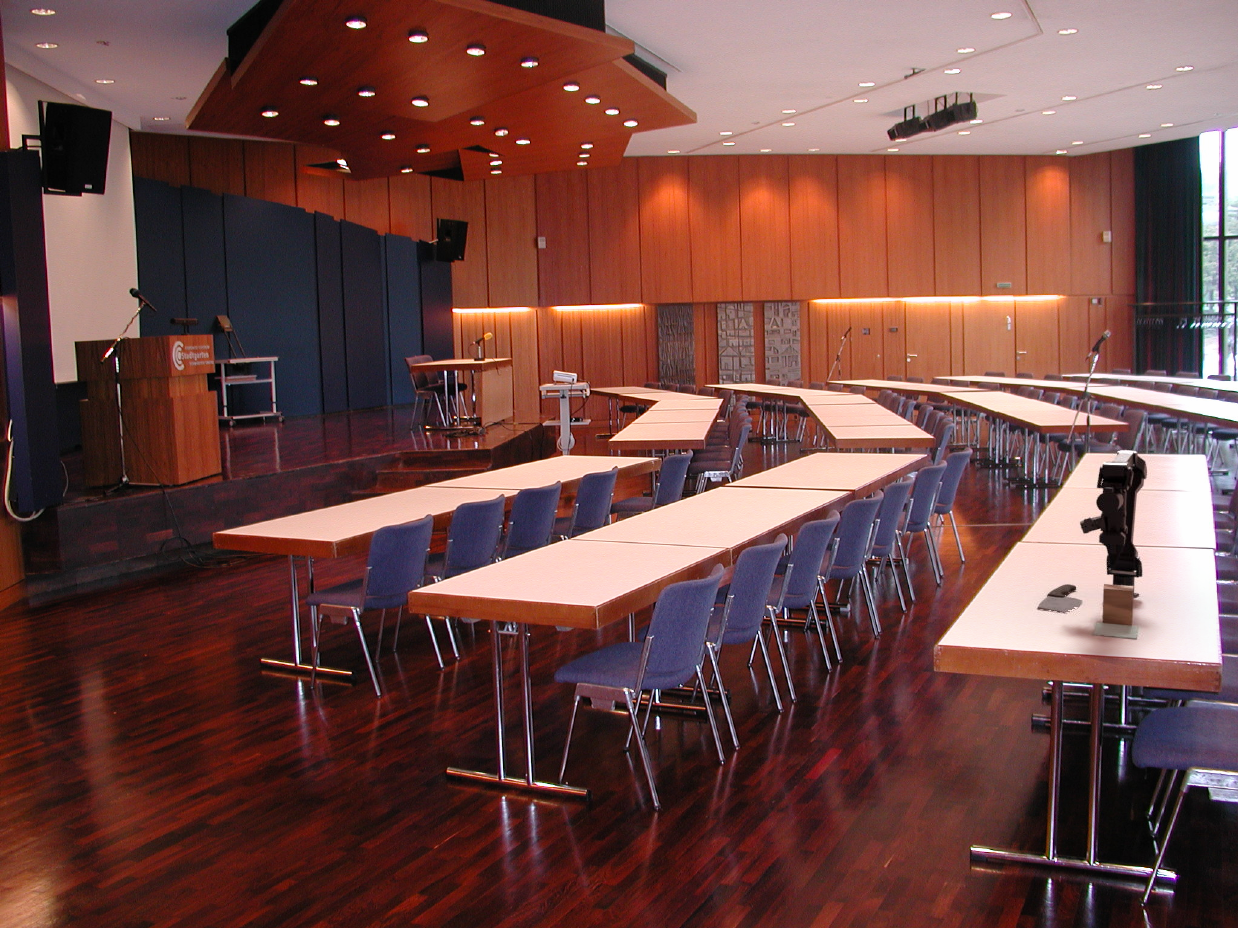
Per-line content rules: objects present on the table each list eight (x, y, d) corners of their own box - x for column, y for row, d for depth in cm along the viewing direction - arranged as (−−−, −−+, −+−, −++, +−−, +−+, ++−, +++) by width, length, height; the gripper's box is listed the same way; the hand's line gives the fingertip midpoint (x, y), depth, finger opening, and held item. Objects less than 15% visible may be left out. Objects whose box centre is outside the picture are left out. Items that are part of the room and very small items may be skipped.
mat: (1096, 623, 276) (1096, 622, 276) (1138, 627, 271) (1138, 626, 271) (1092, 634, 265) (1092, 633, 265) (1136, 639, 261) (1136, 638, 260)
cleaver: (1057, 589, 315) (1057, 582, 315) (1092, 592, 310) (1092, 585, 310) (1035, 612, 291) (1035, 604, 291) (1072, 616, 286) (1072, 608, 286)
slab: (1103, 620, 279) (1104, 583, 277) (1132, 623, 275) (1133, 586, 274) (1102, 623, 276) (1103, 586, 275) (1131, 625, 273) (1133, 588, 272)
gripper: (1084, 501, 298) (1083, 555, 300) (1079, 511, 282) (1078, 568, 283) (1128, 503, 293) (1126, 558, 294) (1125, 513, 276) (1123, 571, 278)
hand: (1112, 563), depth 288 cm, fingers open, 4 cm apart
